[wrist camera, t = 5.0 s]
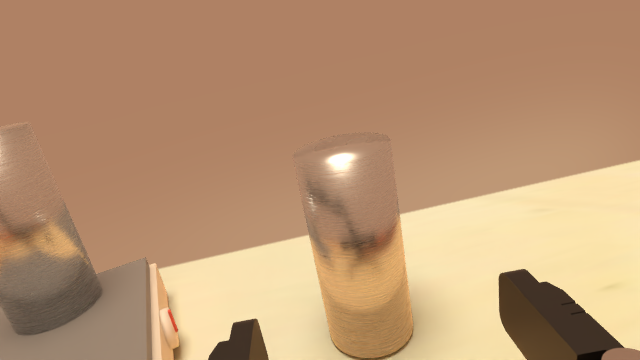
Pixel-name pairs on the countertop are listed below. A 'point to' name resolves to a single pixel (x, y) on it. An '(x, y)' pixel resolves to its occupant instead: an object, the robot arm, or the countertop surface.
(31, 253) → the cylinder
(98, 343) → the scale
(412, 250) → the countertop surface
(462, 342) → the countertop surface
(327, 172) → the cylinder
